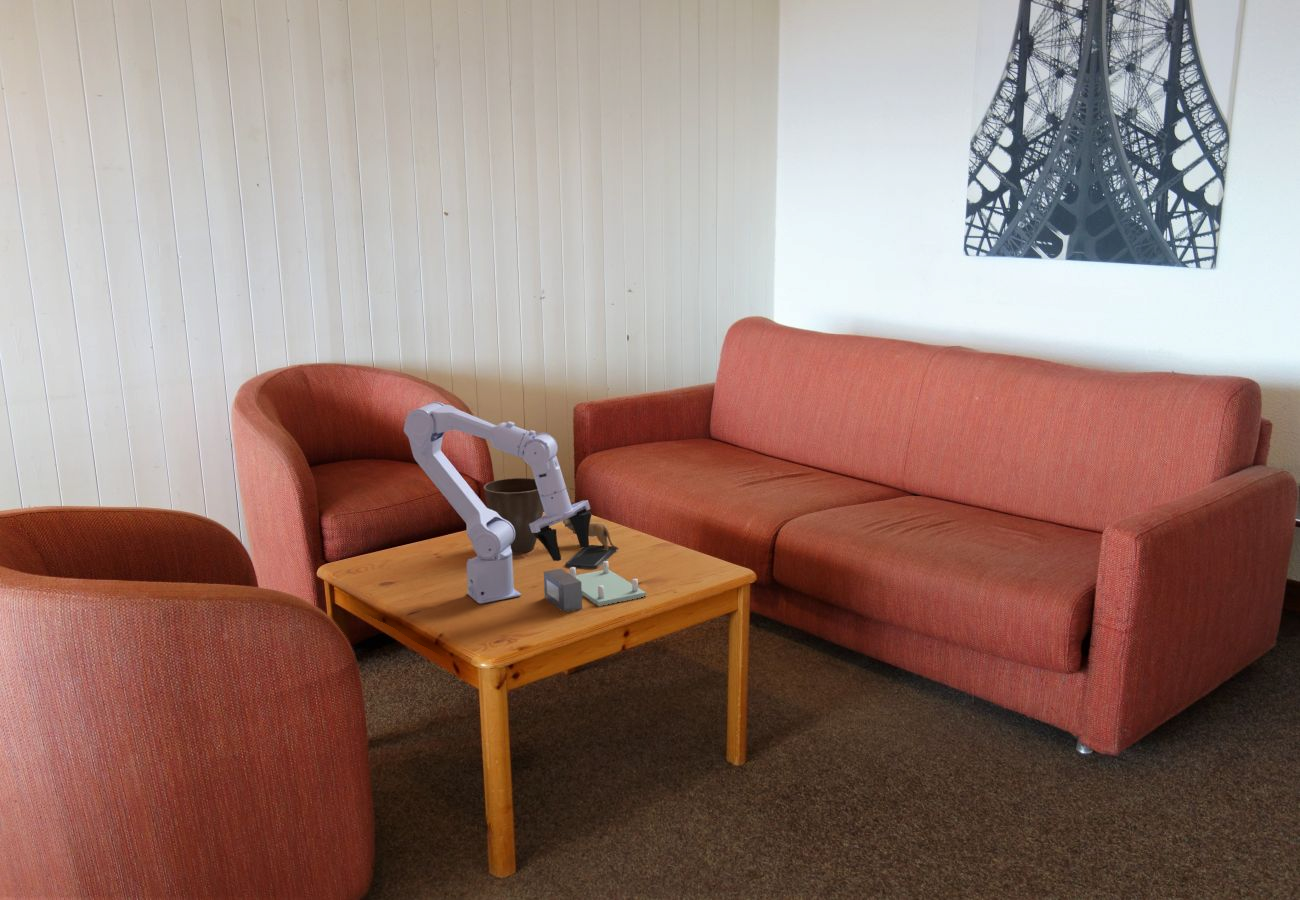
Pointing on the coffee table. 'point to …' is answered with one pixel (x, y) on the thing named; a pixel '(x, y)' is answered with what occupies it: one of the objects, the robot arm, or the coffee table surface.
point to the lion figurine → (594, 532)
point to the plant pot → (516, 508)
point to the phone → (590, 557)
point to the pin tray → (607, 586)
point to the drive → (563, 590)
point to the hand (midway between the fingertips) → (571, 553)
